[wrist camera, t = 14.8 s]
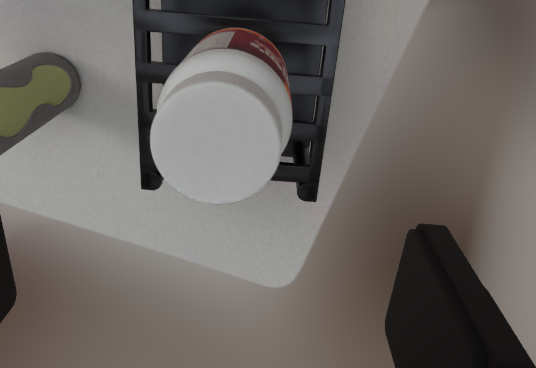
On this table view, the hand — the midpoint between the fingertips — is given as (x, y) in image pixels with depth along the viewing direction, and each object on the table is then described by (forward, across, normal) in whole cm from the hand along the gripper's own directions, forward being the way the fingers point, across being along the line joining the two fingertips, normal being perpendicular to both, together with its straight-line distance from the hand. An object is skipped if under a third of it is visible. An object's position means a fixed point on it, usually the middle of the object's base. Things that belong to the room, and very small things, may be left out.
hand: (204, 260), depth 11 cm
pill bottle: (+19, +1, 0) cm, 19 cm away
